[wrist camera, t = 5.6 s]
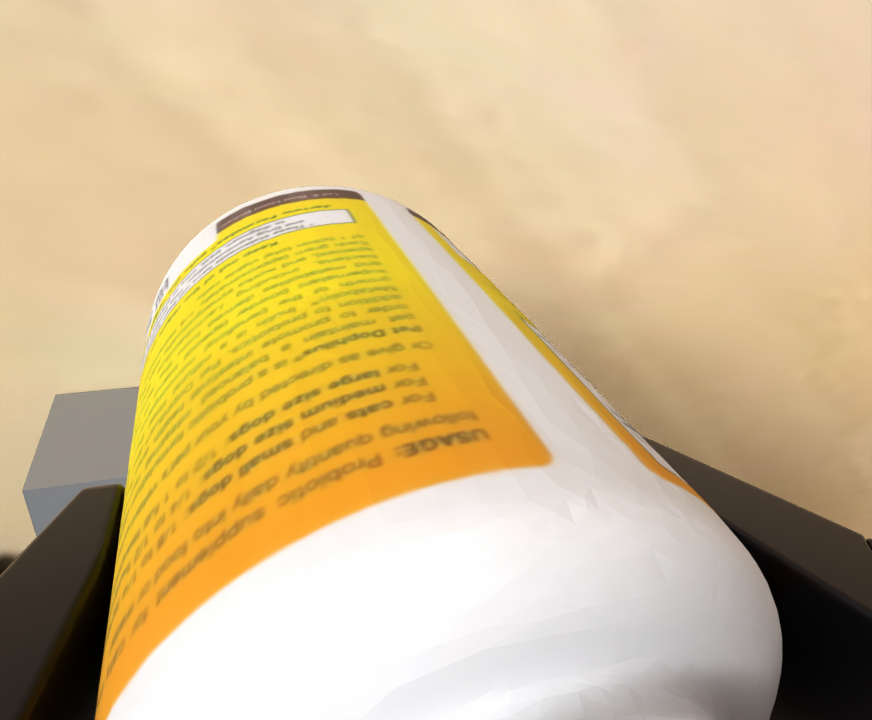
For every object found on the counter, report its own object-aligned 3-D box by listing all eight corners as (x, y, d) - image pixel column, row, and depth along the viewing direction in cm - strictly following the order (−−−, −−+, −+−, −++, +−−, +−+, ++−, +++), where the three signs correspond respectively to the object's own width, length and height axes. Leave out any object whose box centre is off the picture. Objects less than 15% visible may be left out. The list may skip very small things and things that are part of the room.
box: (455, 614, 31) (490, 702, 27) (131, 685, 27) (120, 800, 23) (484, 353, 24) (537, 422, 20) (55, 394, 20) (22, 490, 16)
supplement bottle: (106, 423, 11) (-181, 1789, 3) (217, 112, 9) (381, 1280, 1) (390, 484, 14) (694, 1282, 5) (520, 250, 12) (1285, 890, 4)
